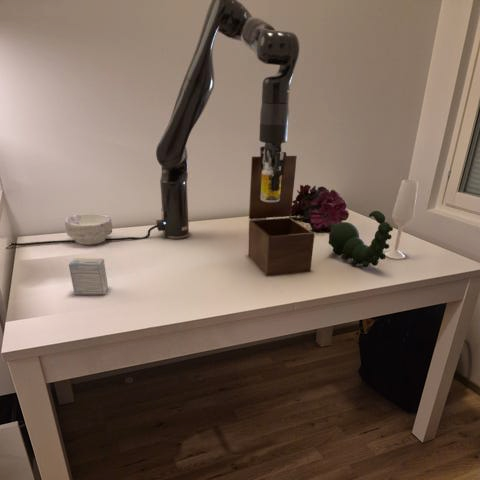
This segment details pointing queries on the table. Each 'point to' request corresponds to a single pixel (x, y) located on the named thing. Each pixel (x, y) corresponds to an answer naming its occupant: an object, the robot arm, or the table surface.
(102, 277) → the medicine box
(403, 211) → the champagne flute
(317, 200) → the flower arrangement
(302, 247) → the chest
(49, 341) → the table surface
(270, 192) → the supplement bottle
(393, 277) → the table surface
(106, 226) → the white stone bowl
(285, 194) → the lid
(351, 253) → the toy figurine
